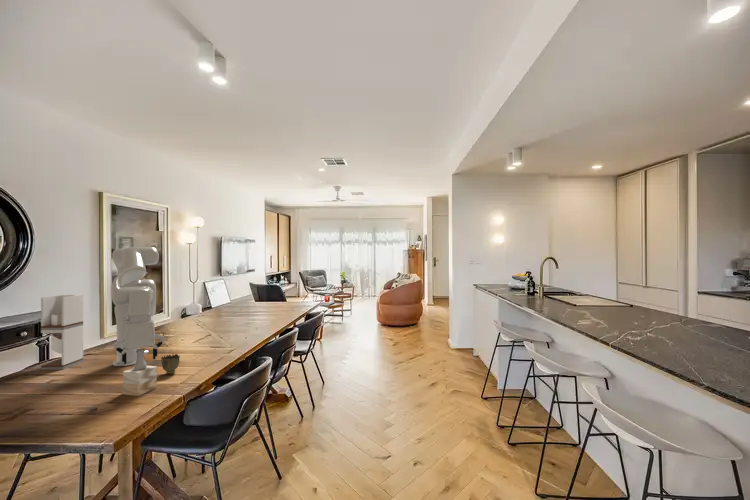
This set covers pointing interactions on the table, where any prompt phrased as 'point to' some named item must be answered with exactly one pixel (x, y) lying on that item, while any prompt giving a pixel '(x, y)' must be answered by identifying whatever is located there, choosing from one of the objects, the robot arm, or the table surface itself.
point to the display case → (63, 328)
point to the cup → (170, 363)
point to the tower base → (139, 388)
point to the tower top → (139, 375)
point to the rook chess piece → (140, 360)
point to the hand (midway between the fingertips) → (140, 360)
